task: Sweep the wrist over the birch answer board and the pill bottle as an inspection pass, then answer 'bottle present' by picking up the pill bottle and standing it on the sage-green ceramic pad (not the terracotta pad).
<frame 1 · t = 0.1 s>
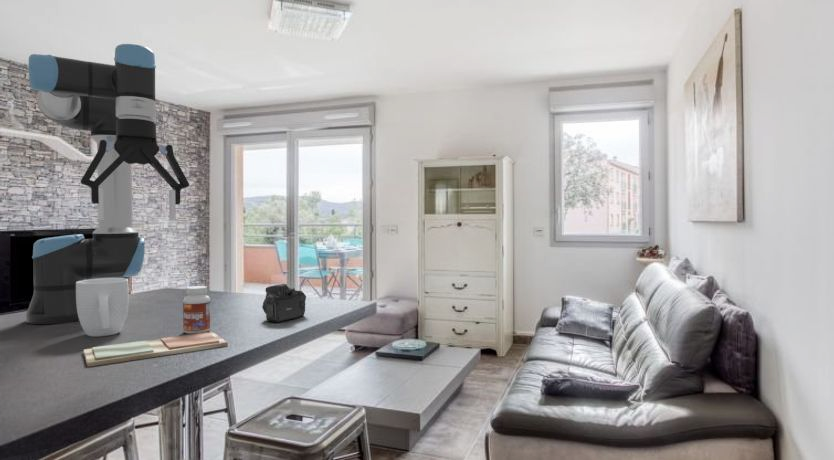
hand: (138, 219, 109), 28 cm above the counter, fingers open, 13 cm apart
mug: (103, 335, 123), on the counter
answer board: (157, 349, 109), on the counter
pill bottle: (197, 332, 126), on the counter
camera: (282, 319, 141), on the counter
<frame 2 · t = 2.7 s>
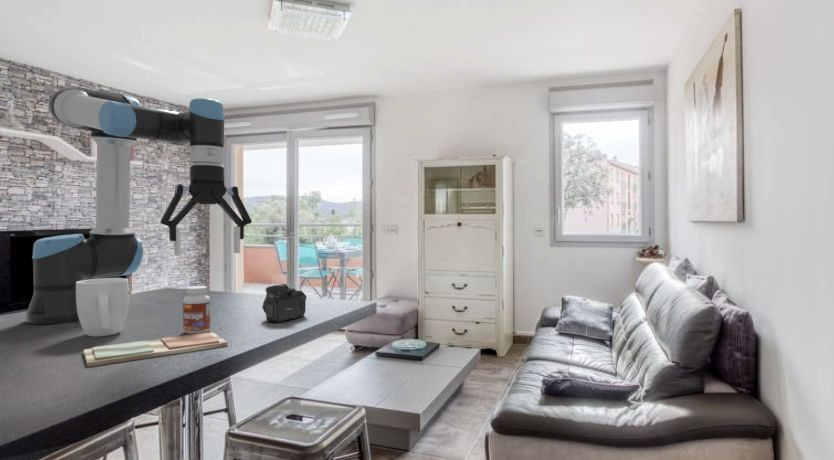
hand: (208, 254, 122), 20 cm above the counter, fingers open, 13 cm apart
nothing on the counter moved.
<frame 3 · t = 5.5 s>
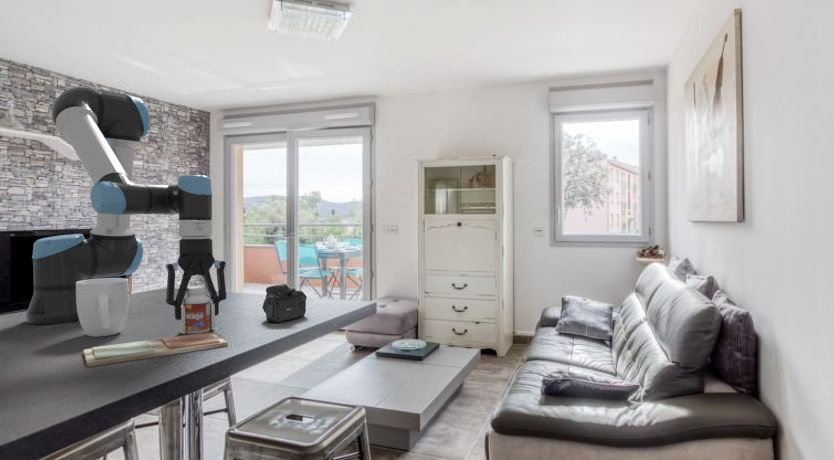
hand: (197, 330, 126), 0 cm above the counter, fingers closed on pill bottle, 6 cm apart
pill bottle: (197, 332, 126), on the counter, touching gripper
everything else where it was.
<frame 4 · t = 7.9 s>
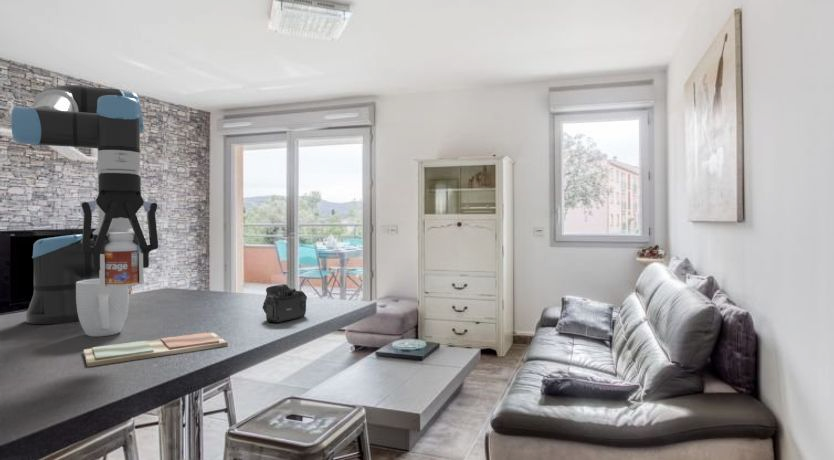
hand: (121, 284, 105), 15 cm above the counter, fingers closed on pill bottle, 6 cm apart
pill bottle: (121, 287, 105), point 14 cm above the counter, touching gripper
everything else where it was.
when the fingers open (3 cm above the counter, at t = 10.3 s): pill bottle drops 1 cm, resting on answer board.
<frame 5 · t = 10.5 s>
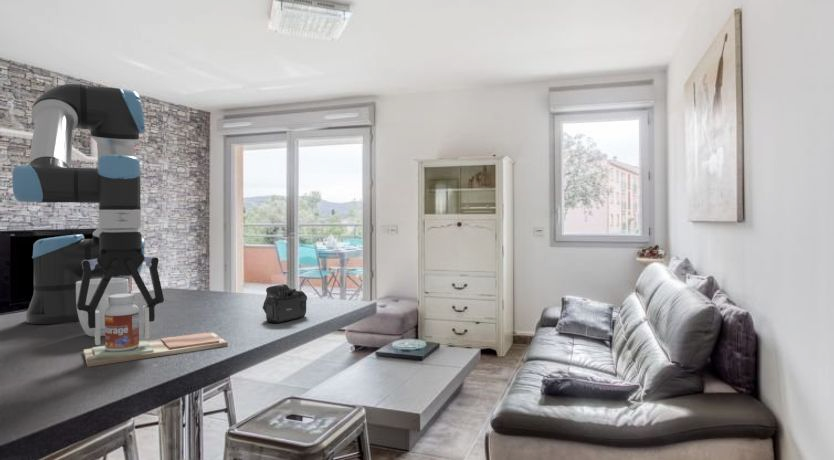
hand: (122, 340, 105), 3 cm above the counter, fingers open, 8 cm apart
pill bottle: (122, 349, 105), point 1 cm above the counter, touching answer board
everything else where it was.
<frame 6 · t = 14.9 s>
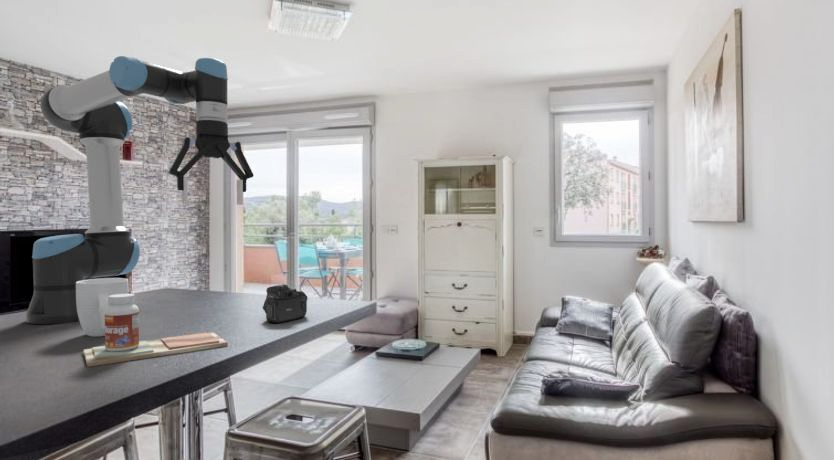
hand: (213, 204, 131), 32 cm above the counter, fingers open, 13 cm apart
nothing on the counter moved.
at the end: pill bottle inside the target area (0.2 cm from its centre), point 1.0 cm above the counter; pill bottle tilted 0°; the gripper is holding nothing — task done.
